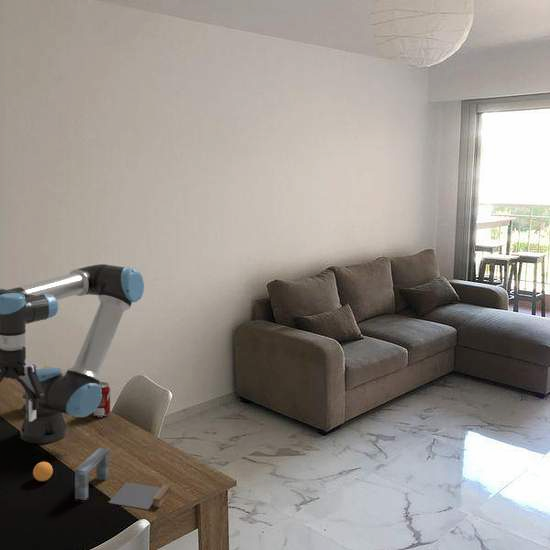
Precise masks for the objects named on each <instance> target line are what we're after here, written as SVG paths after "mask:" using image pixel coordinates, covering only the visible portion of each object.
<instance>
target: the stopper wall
mask: <svg viewBox="0 0 550 550" xmlns="http://www.w3.org/2000/svg"><path fill="white" fill-rule="evenodd" d="M160 488H161V489H160V490H159V491H158V493H157V494H156V495H155V497H154V498H153V505H152V507H153V508H161V507H162V505H163V504H164V503H165V501H166V499H168V497H169V496H170V494H171V485H167V484H163V485H162V486H161V487H160Z"/></svg>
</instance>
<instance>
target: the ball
mask: <svg viewBox="0 0 550 550" xmlns="http://www.w3.org/2000/svg"><path fill="white" fill-rule="evenodd" d="M53 472H54V469H53V466H52V465H51V463H49V462H47V461H40V462H38V463H37V464H36V465H35V466H34V468H33V471H32V475H33V477H34V479H35V480H37V481H38V482H46V481H48V480H49V479H50V478H51V477H52V476H53Z"/></svg>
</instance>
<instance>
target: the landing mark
mask: <svg viewBox="0 0 550 550" xmlns="http://www.w3.org/2000/svg"><path fill="white" fill-rule="evenodd" d="M161 488H162V487H158V486H154V485H153V486H152V485H146V484H141V483H135V482H134V483H133V482H128V481H127V482H126V483H125V484H123V486H122V487H121V488H120V489H119V490H118V491H117V492H116V493H115V494H114V496H113V497H112V498H111V499H110V500H109V501H108V502H107V503H108V504H112V505H116V506H121V507H122V506H124V507H128V508H135V509H140V510H146V511H149V510H150V509H151V507H153V498H154V497H155V495H156V494H157V493H158V491H159V490H160V489H161Z"/></svg>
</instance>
